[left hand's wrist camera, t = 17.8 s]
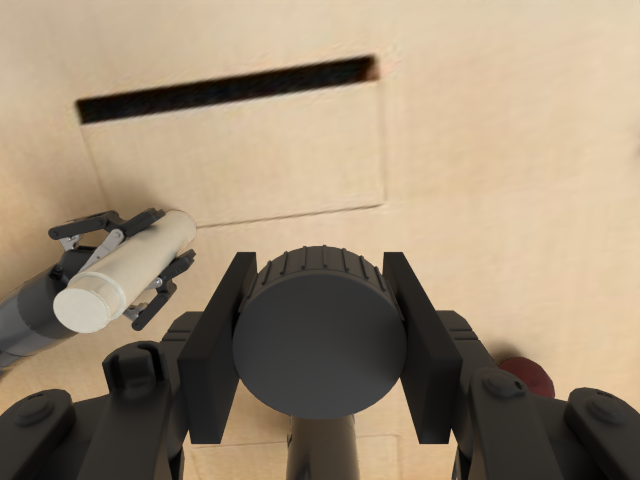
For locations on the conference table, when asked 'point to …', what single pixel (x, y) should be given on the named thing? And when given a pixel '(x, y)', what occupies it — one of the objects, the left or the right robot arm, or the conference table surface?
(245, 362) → the lid
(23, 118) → the conference table surface
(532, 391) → the dark red ball
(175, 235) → the white cylindrical bottle
